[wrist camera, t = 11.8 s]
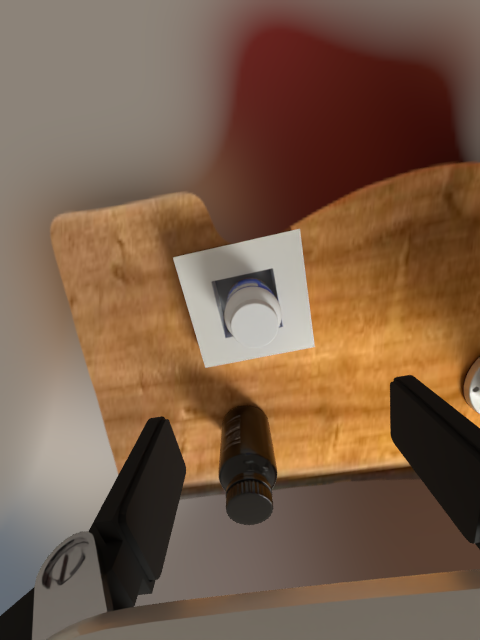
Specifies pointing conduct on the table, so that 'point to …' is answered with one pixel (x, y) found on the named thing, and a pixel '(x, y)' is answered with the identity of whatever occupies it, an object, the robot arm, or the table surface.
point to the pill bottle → (252, 313)
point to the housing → (228, 268)
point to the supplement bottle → (247, 465)
